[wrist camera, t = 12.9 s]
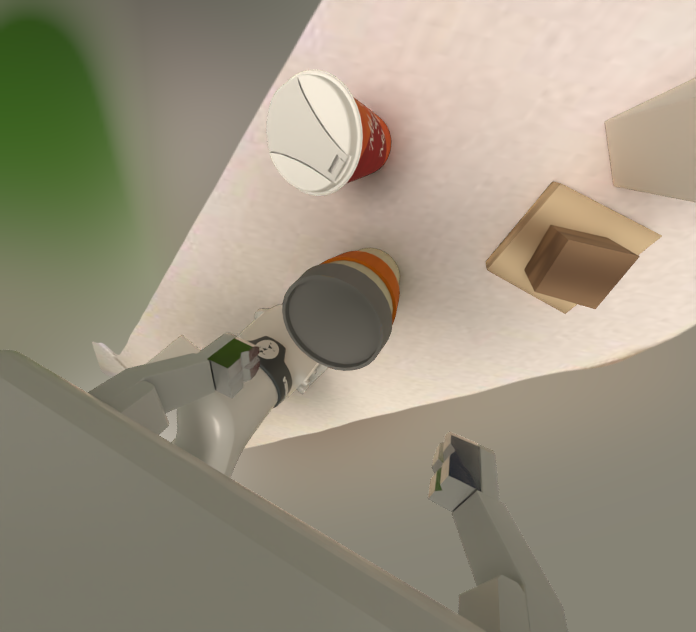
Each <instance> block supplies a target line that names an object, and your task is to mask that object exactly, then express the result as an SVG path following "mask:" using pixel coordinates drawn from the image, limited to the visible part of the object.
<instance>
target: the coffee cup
mask: <svg viewBox="0 0 696 632" xmlns="http://www.w3.org/2000/svg"><path fill="white" fill-rule="evenodd" d="M266 133H267V142H268V148H269V153H270V156H271V159H272V161H273V163H274V165H275V167H276V168H277V170H278V171H279V173H280V174H281V175H282V177H283V178H284V179H285V180H286V181H287V182H289V183H290V184H291V185H292V186H294V187H296V188H297V189H298V190H300V191H302V192H304V193H306V194H309V195H314V196H324V195H328V194H331V193H334V192H336V191H337V190H339V189H340V188H342V187H343V186H344V185H345V184H346V183H349V182H351V181H354V180H356V179H359V178H362V177H364V176H366V175H369V174H371V173H373V172H375V171H377V170H378V169H380V168H381V167H382V166H383V165H384V163H385V162H386V160H387V158H388V156H389V153H390V149H391V137H390V133H389V130H388V127H387V126H386V124H385V123H384V122H383V120H382V119H381V118H379V117H378V116H377V115H376V114H375V113H373V112H372V111H371V110H370V109H368V108H367V107H366V106H364V105H363V104H362V103H360V102H359V101H358V100H356V99H355V98H354V97H353V96H352V94H351V93H350V91H349V90H348V88H347V87H346V86H345V85H344V84H343V83H342V82H341V81H340V80H339V79H338V78H336V77H335V76H334V75H332V74H330V73H328V72H325V71H321V70H307V71H303V72H300V73H298V74H296V75H294V76H293V77H292V78H291V79H289V80H288V81H287V82H286V83H285V84H283V85H282V86H281V87H280V88H279V89H278V90H277V91H276V92H275V94H274V95H273V97H272V100H271V103H270V106H269V110H268V115H267V122H266Z"/></svg>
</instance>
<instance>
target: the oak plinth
mask: <svg viewBox="0 0 696 632" xmlns="http://www.w3.org/2000/svg"><path fill="white" fill-rule="evenodd" d="M550 225H554V226H558V227H563V228H567V229H571V230H576V231H580V232H585V233H589V234H594V235H598V236H603V237H607V238H609V239H611V240H612V241H614V242H616V243H618V244H619V245H621V246H623V247H624V248H626V249H628V250H630V251H631V252H633V253H635V254H636V255H639V254H640V253H642V252H643V251H644V250H645V249H647V248H648V247H649V246H650V245H652V244H653V243H654V242H655V241H657V240H658V239H659V238H660V237H661V235H659V234H658V233H656V232H654V231H652V230H650V229H648V228H646V227H644V226H642V225H640V224H638V223H636V222H634V221H632V220H630V219H628V218H627V217H625V216H623V215H621V214H619V213H617V212H615V211H613V210H611V209H609V208H607V207H605V206H603V205H601V204H599V203H597V202H596V201H594V200H592V199H590V198H588V197H586V196H584V195H582V194H580V193H578V192H576V191H574V190H572V189H570V188H568V187H566V186H565V185H563V184H560V183H557V182H554V181H553V182H552V183H551V184H550V185H549V186H548V188H547V189H546V190H545V191H544V192H543V194H542V195H541V196H540V197H539V198H538V200H537V201H536V202H535V203H534V204H533V206H532V207H531V208H530V209H529V210H528V212H527V213H526V214H525V215H524V216H523V218H522V219H521V220H520V221H519V222H518V224H517V225H516V226H515V227H514V228H513V230H512V231H511V232H510V233H509V234H508V236H507V237H506V238H505V239H504V240H503V242H502V243H501V244H500V245H499V246H498V248H497V249H496V250H495V251H494V252H493V254H492V255H491V256H490V257H489V258H488V260H487V261H486V267H487V270H488V271H490V272H491V273H493V274H495V275H497V276H499V277H500V278H502V279H504V280H506V281H508V282H509V283H511V284H513V285H515V286H516V287H518V288H520V289H522V290H524V291H525V292H527V293H529V294H531V295H532V296H534V297H536V298H538V299H540V300H541V301H543V302H545V303H547V304H548V305H550V306H552V307H554V308H556V309H557V310H559V311H561V312H563V313H565V314H566V313H567V312H568V311H569V310H571V309H572V308H573V307H574V306H576V305H577V304H575V303H572V302H568V301H565V300H561V299H558V298H554V297H551V296H547V295H544V294H540V293H537V292H534V290H533V287H532V285H531V283H530V281H529V279H528V277H527V275H526V273H525V271H524V269H525V267H526V266H527V264H528V262H529V261H530V259H531V257H532V255H533V254H534V252H535V250H536V249H537V247H538V245H539V244H540V242H541V240H542V238H543V237H544V235H545V233H546V232H547V230H548V228H549V226H550Z"/></svg>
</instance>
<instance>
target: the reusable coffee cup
mask: <svg viewBox="0 0 696 632" xmlns="http://www.w3.org/2000/svg"><path fill="white" fill-rule="evenodd" d="M399 282H400V273H399V270H398V267H397V265H396V263H395V261H394V260H393V259H392V258H391V257H390V256H389V255H388V254H387V253H385V252H383V251H381V250H378V249H375V248H364V249H361V250H358V251H350V252H346V253H343V254H340V255H338V256H336V257H333V258H331V259H328V260H326V261H324V262H323V263H321V264H320V265H317V266H314V267H312V268H310V269H309V270H307V271H306V272H305V273H304V274H303V275H302V276H301V277H300V278H299V279H298V280H297V281H296V282H295V283H294V284H293V285H292V286H291V287H290V288H289V289H288V291H287V292H286V294H285V296H284V300H283V304H282V314H283V321H284V324H285V327H286V329H287V331H288V333H289V335H290V337H291V339H292V340H293V341H294V343H295V344H296V345H297V346H298V348H299V349H300V350H301V351H302V352H303V353H305V354H306V355H307V356H308V357H309V358H311V359H312V360H314V361H316V362H317V363H319V364H321V365H324V366H326V367H329V368H332V369H336V370H343V371H346V370H356V369H360V368H363V367H365V366H367V365H369V364H370V363H371V362H372V361H373V360H375V358H376V357H377V355H378V354H379V352H380V351H381V349H382V348H383V347H384V345H385V344H386V342H387V341H388V339H389V336H390V334H391V330H392V325H393V322H394V319H395V316H396V311H397V306H398V302H399V294H400V292H399Z"/></svg>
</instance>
